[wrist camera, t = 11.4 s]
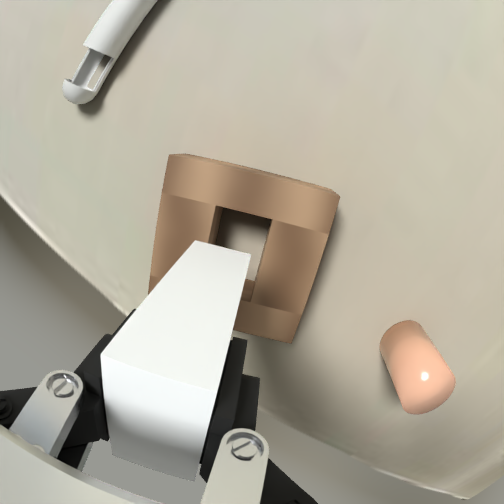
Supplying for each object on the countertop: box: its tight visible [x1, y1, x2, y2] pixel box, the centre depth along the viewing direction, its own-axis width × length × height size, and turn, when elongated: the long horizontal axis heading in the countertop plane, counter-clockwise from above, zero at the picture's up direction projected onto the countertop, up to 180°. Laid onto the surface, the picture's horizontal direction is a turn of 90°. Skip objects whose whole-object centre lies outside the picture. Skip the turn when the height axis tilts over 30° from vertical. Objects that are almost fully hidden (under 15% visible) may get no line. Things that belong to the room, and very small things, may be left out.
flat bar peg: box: [101, 240, 251, 481], centre depth 12 cm, size 3×5×10 cm, turn 166°
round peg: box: [380, 320, 456, 414], centre depth 24 cm, size 5×5×8 cm
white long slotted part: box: [62, 0, 158, 104], centre depth 18 cm, size 18×5×6 cm, turn 148°
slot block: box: [148, 154, 340, 343], centre depth 24 cm, size 12×12×4 cm
